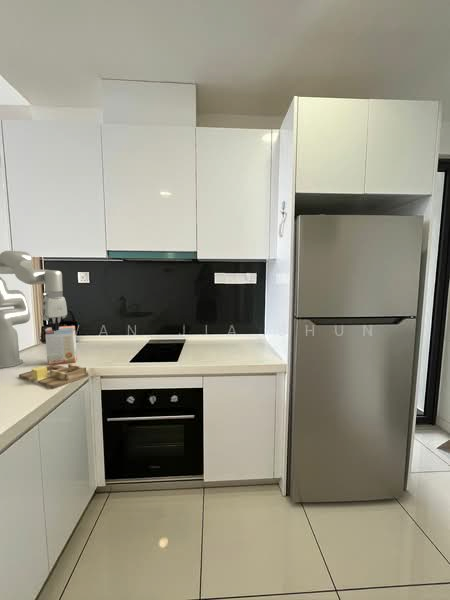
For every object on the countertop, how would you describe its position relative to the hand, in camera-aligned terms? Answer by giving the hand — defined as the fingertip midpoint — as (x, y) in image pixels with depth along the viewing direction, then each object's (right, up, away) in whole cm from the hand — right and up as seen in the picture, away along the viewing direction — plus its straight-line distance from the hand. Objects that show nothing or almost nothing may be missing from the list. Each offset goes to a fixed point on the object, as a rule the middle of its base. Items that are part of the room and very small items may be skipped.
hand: (55, 330), depth 138 cm
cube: (-2, -22, -9) cm, 24 cm away
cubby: (+10, -21, -6) cm, 24 cm away
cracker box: (-7, -21, +18) cm, 28 cm away
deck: (+2, -23, -4) cm, 23 cm away
